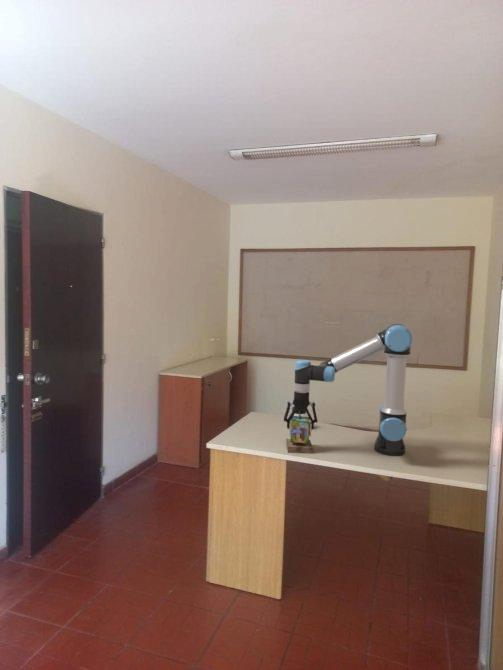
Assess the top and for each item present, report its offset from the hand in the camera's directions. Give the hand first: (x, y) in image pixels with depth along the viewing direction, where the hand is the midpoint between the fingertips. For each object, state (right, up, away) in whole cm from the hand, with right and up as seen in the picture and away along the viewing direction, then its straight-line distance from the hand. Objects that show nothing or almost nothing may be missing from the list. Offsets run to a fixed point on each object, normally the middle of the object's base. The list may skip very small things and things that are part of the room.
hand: (299, 435), depth 230 cm
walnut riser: (0, -7, +1) cm, 7 cm away
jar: (+3, -4, +36) cm, 36 cm away
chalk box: (0, -3, 0) cm, 3 cm away
